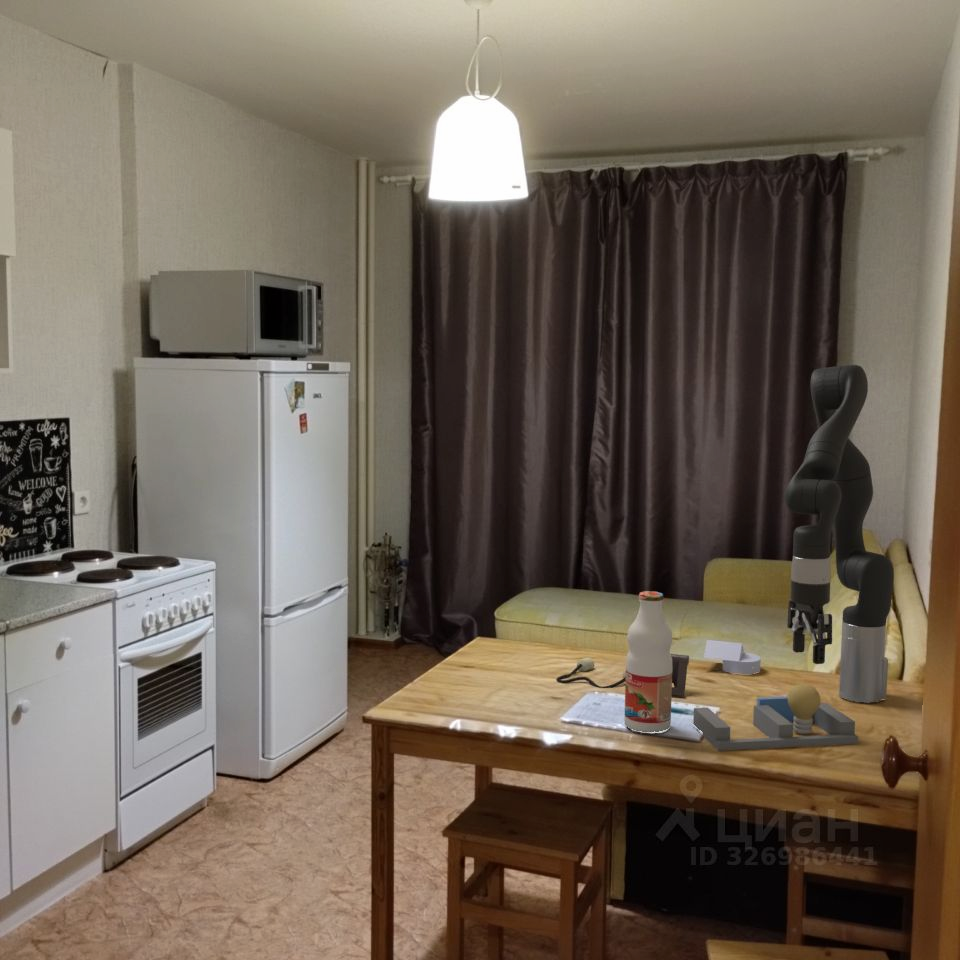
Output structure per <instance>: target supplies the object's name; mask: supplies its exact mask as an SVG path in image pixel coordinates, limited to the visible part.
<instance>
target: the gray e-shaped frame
mask: <svg viewBox="0 0 960 960" xmlns="http://www.w3.org/2000/svg"><path fill="white" fill-rule="evenodd" d="M794 716H795V714H794V713H793V711H792V710H791V708H790V707H789V704H788V696H768V697H764V696H763V697H757V698H756V705H753V720H752V724H753V725H754V726H755V728H756V729H758V730H759V731H760V732H761V733H763V734H764V735H766V737H761V738H758V737H756V738H755V737H754V738H739V739H731V726H730V725H729V724H727V723H726V722H725V721H724V720H723V719H722V718H721V717H719V716H718V715H717V714H716V713H715V712H714V711H712V709H710V708H709V707H694V708H693V721H692V722H693V723H692V725H693V724H694V725H695V726H696V727H697V728H698V729H699V730H701V731H702V732H703V735H704V737H705V738H706V739H707V740H706V739H705V738H704V737H703V738H704V739H705V740H706V741H709V742H708V743H709V744H710V745H711V746H713V747H714V749H715V750H717V751H720V752H721V751H737V750H738V751H739V750H756V749H778V748H782V749H783V748H798V747H801V748H802V747H820V746H822V747H823V746H841V745H858V744H859V736H858V734H855V731H856V730H855V729H856V728H855V727H856V721H855V720H853V719H852V718H850V717H849V716H848V715H846V714H844V713H843V712H841V711H840V710H838V709H837V708H835V707H834V706H832V705H831V704H829V703H828V702H820V706H819V708H818V710H817V711H816V712H815V713H814V715H813V716H812V719H813V722H812V724H815V725H816V726H817V727H819V728H820V729H821V730H822V731H824V732H825V733H827V735H825V734H823V735H805V736H804V735H803V736H802V735H801V736H794V730H793V726H794V725H793V723H792V722H794Z"/></svg>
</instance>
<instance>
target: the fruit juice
mask: <svg viewBox="0 0 960 960" xmlns="http://www.w3.org/2000/svg"><path fill="white" fill-rule="evenodd" d="M638 602H640V603H639V604H640V605H639V609H638V612H637V616H636V618H635V619H634V621H633V622H632V623H631V625H629V627H628V630H627V643H628V647H629V650H628V652H627V654H626V659H625V661H626V662H625V670H626V681H624V682H625V683H624V684H625V687H624V725H626V726H627V727H629V728H630V729H633V730H636V731H642V732H654V731H655V732H659V731H663V730H666V729H668V728H669V727H670V728H671V724H672V723H671V721H672V697H673V696H672V687H673V683H672V657H671V655H670V654H671V647H672V644H673V631H672V629H671V628H670V626H669V624H668V623H667V621H666V620H665V617H664V613H663V608H662V604H663V602H664V593H662V592H658V591H654V590H653V591H651V590H645V591H641V592H639V594H638ZM626 726H625V727H626ZM627 727H626V728H627ZM670 728H669V729H670Z"/></svg>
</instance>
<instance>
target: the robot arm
mask: <svg viewBox="0 0 960 960" xmlns="http://www.w3.org/2000/svg"><path fill="white" fill-rule="evenodd" d="M868 388H869V383H868V377H867V374H866V372H865V370H864V368H863V367H862V366H861V365H858V364H845V365H838V366H830V367H829V366H828V367H822V368H816V369H814V370H813V372H812V374H811V377H810V393H811V400H812V404H813V409H814V413H815V416H816V421H817V427H818V429H817V430H816V431H815V432H814V433H813V435H812V437H811V438H810V440H809V443H807V447H806V448H807V449H806V451H805V454H804V459H803V461H802V463H801V465H800V467H799V468H798V470H797V471H796V472H795V474H794V475H793V476H792V478H791V479H790V481H789V483H788V484H787V486H786V490H785V491H784V503H785V506H786V508H787V509H788V510H789V511H790V512H792V513H793V514H798V515H811V516H812V515H813V516H819V520H818V522H816V523H814V524H809V525H801V526H798V527H796V528H795V529H794V531H793V543H792V544H793V547H792V561H791V567H790V569H791V571H790V600H789V601H788V607H787V609H788V610H787V628H788V629H790V630H791V633H792V636H793V637H792V651H793V652H794V653H804V652H805V647H806V645H805V644H806V638H805V637H806V630H807V634H808V635H809V636H810V637H811V640H812V643H813V645H812V663H813V664H815V665H823V664H825V661H826V646H827V645H828V646H829V645H832V644H833V615H832V614H831V613H824V612H825V611H824V606H825V605H828V604H829V603H830V601H831V577H832V576H831V574H832V571H831V570H832V568H831V567H832V566H831V558H830V556H831V537H832V531H834V542H835V543H834V544H835V545H834V546H835V565H836V574H837V578H838V580H839V582H840V584H841V585H842V586H844V587H845V588H847V589H849V590H852V591H855V592H858V597H857V602H856V604H855V605H849V606H846V607H845V608H843V611H842V623H841V624H842V625H841V638H840V639H841V641H840V642H841V645H840V662H839V681H838V682H839V684H838V696H839V697H842V699H843V698H844V700H846V699H847V700H846V701H850V702H853V701H855V702H854V703H859V702H864V703H863V704H871V703H870V702H877V701H880V700H881V699H886V700H887V689H888V671H889V659H888V658H887V657H885V653H886V651H885V650H886V636H887V635H886V634H887V619H888V616H889V614H890V611H891V608H892V599H893V589H894V582H895V581H894V580H895V579H894V576H895V575H894V574H895V572H894V567H893V566H894V565H893V563H892V561H891V559H890V558H889V557H888V556H886V555H884V554H880V553H877V552H872V551H869V550H868V551H867V550H866V547H865V542H864V535H863V533H864V532H863V524H864V522H865V521H864V520H865V518H866V515H867V513H868V511H869V509H870V507H871V504H872V500H873V497H874V486H873V481H872V472H871V466H870V464H869V462H868V459H867V458H866V456H865V455H864V454H863V453H862V452H861V450H860V449H859V448H858V447H857V446H856V444H855V443H853V441H852V440H851V439H850V438H849V436H850V435H851V432H852V430H854V427H855V425H856V422H857V420H858V418H859V417H860V414H861V412H862V410H863V408H864V406H865V403H866V401H867V397H868V391H869V389H868ZM835 410H836V411H835ZM865 702H866V703H865ZM880 702H881V701H880ZM877 703H878V702H877Z"/></svg>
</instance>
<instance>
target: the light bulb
mask: <svg viewBox="0 0 960 960" xmlns="http://www.w3.org/2000/svg"><path fill="white" fill-rule="evenodd" d="M787 697H788V704H789V707H790V708H791V710H792V711H793V713H794V714H795V716H794V721H792V722H793V723H792V724H793V732H795V733H796V734H799V735H809V734H811V733H812V732H813V725H814V723H813V719H812V716H813V715H814V713H815V712H816V711H817V710H818V708H819V706H820V703H821V695H820V693H819V691H818V690H817V689H816V687H814V686H812V685H810V684H806V683H798V684H795V685H794V686H792V687H791V688H790V690H789V691H788V694H787Z"/></svg>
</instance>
